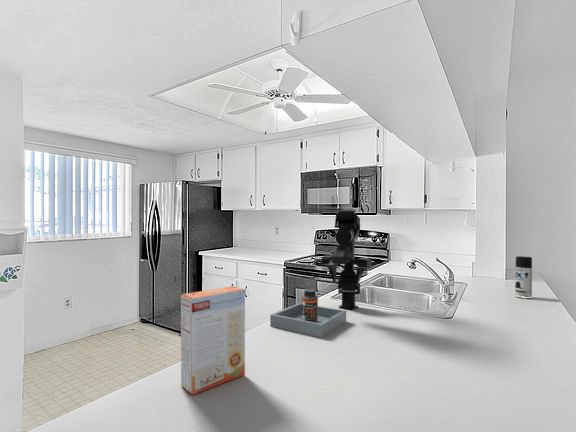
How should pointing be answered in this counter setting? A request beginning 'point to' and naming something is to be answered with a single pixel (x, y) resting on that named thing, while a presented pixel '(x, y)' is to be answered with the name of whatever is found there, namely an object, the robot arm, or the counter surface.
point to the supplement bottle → (309, 306)
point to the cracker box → (212, 337)
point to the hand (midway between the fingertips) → (345, 283)
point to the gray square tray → (293, 322)
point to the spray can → (523, 276)
